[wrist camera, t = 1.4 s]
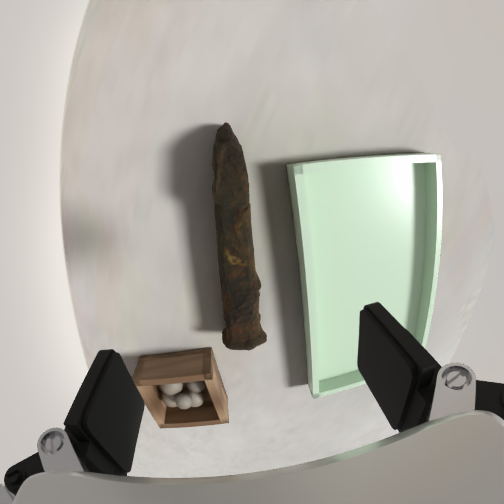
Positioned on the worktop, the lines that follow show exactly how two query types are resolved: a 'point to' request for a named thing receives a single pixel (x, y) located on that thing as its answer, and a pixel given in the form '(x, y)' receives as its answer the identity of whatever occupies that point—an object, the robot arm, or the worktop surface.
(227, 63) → the worktop surface
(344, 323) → the tray
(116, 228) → the worktop surface
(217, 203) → the dark brown tapered bar
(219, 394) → the gravel box
